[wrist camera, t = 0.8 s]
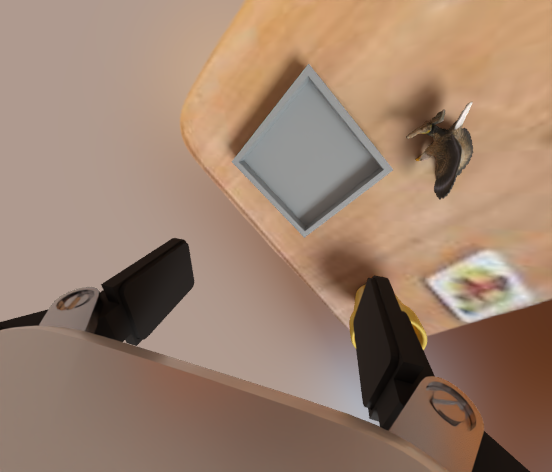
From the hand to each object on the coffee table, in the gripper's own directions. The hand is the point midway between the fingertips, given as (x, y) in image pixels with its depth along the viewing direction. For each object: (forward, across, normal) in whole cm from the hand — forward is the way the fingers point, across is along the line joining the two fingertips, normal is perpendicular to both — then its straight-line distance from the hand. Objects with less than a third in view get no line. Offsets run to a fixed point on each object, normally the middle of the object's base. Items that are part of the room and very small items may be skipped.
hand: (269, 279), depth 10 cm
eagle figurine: (+26, -16, -6) cm, 31 cm away
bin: (+25, +1, -3) cm, 25 cm away
